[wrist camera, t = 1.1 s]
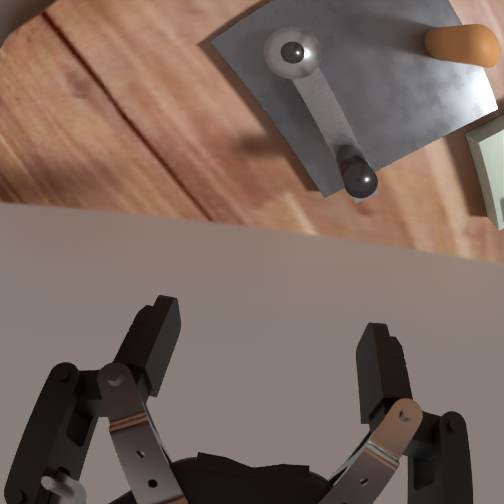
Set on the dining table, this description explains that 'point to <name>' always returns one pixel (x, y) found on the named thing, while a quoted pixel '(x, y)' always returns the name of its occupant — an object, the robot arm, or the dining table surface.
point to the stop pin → (464, 44)
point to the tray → (490, 166)
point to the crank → (321, 105)
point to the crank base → (361, 78)
